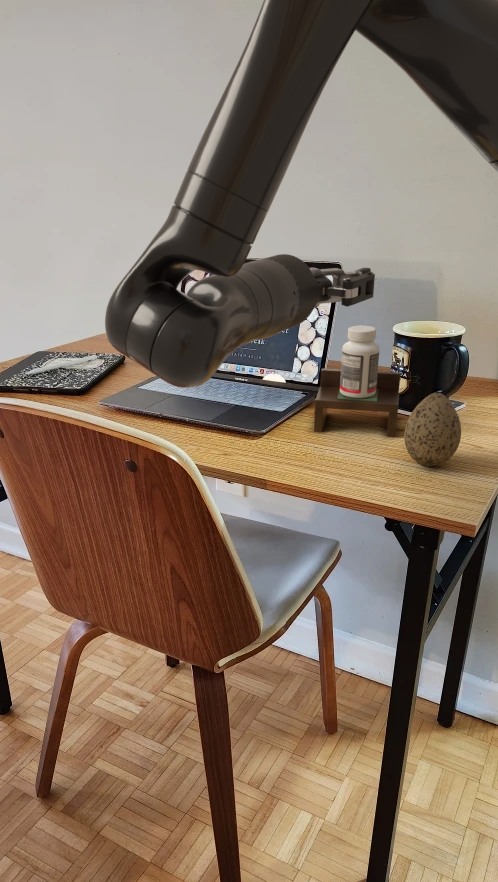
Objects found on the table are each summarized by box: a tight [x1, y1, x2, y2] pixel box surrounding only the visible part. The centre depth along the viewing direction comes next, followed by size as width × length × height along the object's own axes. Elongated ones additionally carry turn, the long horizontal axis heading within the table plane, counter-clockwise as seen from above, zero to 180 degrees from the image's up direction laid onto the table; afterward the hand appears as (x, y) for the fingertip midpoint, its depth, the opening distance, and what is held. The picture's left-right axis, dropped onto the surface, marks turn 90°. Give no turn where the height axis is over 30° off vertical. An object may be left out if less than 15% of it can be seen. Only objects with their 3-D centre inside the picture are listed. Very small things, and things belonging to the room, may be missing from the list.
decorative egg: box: [403, 392, 462, 467], centre depth 90 cm, size 7×7×10 cm
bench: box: [313, 368, 402, 438], centre depth 105 cm, size 12×8×8 cm, turn 76°
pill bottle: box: [340, 324, 380, 398], centre depth 101 cm, size 5×5×10 cm
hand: (333, 274), depth 82 cm, fingers open, 8 cm apart
